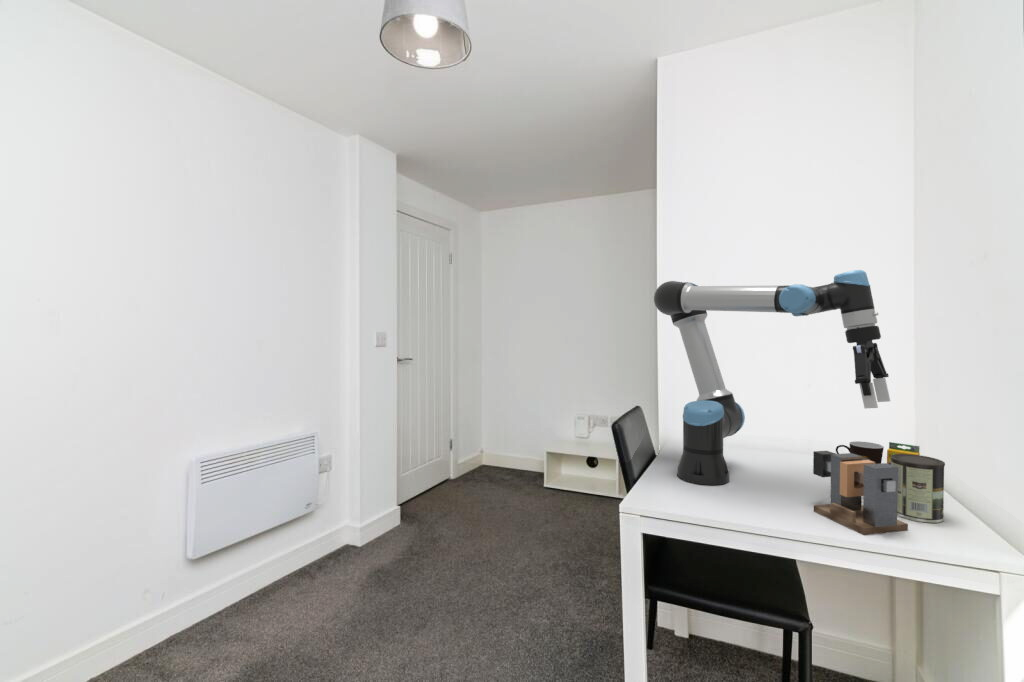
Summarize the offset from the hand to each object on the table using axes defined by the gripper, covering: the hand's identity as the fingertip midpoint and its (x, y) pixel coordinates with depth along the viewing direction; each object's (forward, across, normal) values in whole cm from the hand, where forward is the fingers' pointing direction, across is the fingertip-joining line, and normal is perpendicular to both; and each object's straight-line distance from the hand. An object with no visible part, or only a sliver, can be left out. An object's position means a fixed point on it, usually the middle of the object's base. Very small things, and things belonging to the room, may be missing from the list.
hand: (877, 404), depth 127 cm
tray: (+25, -19, +4) cm, 32 cm away
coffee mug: (+24, +23, +13) cm, 36 cm away
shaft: (+17, -18, +4) cm, 26 cm away
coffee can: (+27, -5, -4) cm, 28 cm away
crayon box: (+26, +23, +3) cm, 35 cm away
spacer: (+19, -19, +4) cm, 27 cm away
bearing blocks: (+24, -20, +3) cm, 31 cm away
